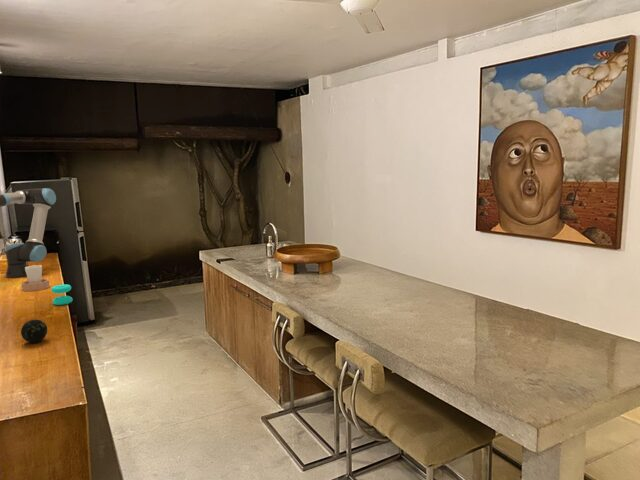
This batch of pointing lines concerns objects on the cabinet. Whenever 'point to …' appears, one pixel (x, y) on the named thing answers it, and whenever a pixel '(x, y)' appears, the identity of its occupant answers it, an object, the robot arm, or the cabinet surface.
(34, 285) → the bowl
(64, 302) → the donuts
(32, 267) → the foam cup
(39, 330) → the decorative stone
